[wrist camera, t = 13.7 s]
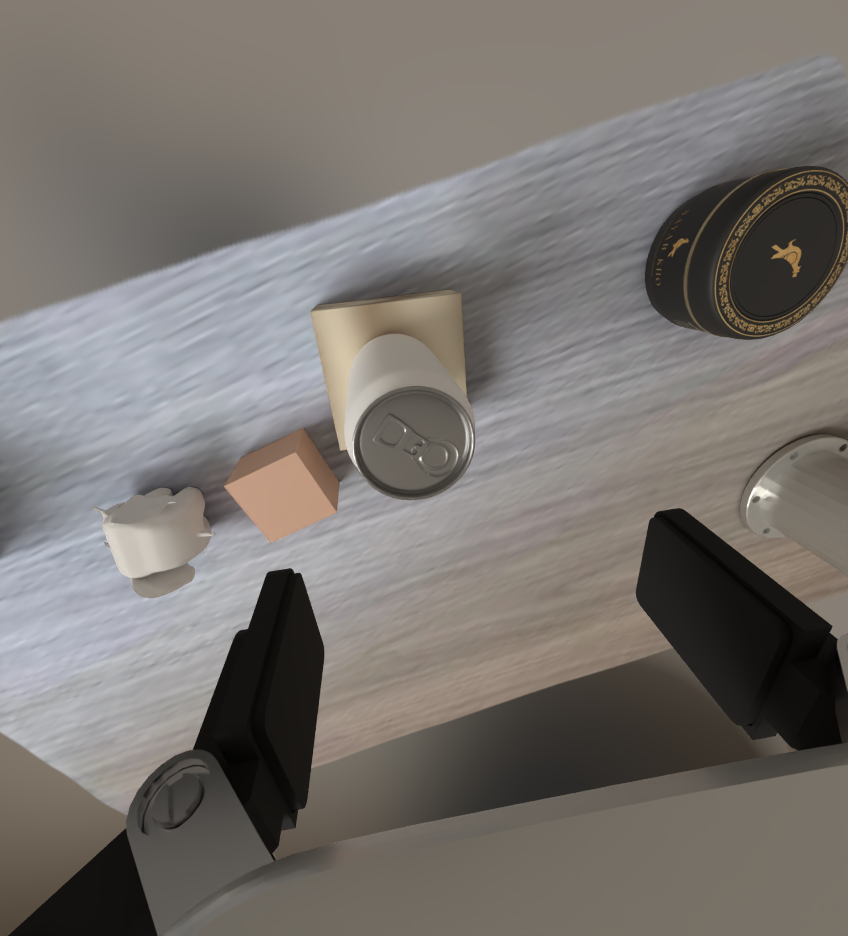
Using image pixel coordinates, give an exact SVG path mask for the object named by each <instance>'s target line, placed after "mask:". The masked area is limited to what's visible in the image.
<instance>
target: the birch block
mask: <svg viewBox="0 0 848 936" xmlns="http://www.w3.org/2000/svg"><path fill="white" fill-rule="evenodd" d="M310 314H311V318H312V323H313V327H314V332H315V337H316V341H317V346H318V350H319V355H320V360H321V364H322V369H323V373H324V378H325V383H326V387H327V392H328V396H329V401H330V406H331V410H332V415H333V419H334V424H335V428H336V433H337V438H338V442H339V447H340V451H342V450H347V447H346V443H345V436H344V421H345V409H346V399H347V389H348V380H349V373H350V369H351V365H352V362H353V360H354V358H355V356H356V355H357V353H358V352H359V351H360V349H361V348H362V347H363V346H364V345H365V344H367V343H368V342H369V341H371V340H373V339H375V338H377V337H379V336H382V335H387V334H403V335H407V336H410V337H413V338H415V339H417V340H419V341H420V342H422V343H423V344H424V345H426V346H427V347H428V348H429V349H430V350H431V352H432V353H433V354H434V355H435V356H436V358H437V359H438V360H439V361H440V363H441V364H442V365H443V366H444V368H445V369H446V370H447V371H448V373H449V374H450V375H451V376H452V378H453V379H454V380H455V382H456V383H457V384H458V386H459V387H460V388H461V390H462V391H463V393H464V394H465V396H466V397H467V394H466V374H465V354H464V335H463V315H462V295H461V293H458V292H455V291H452V290H442V291H434V292H426V293H417V294H409V295H401V296H392V297H384V298H376V299H367V300H359V301H351V302H342V303H334V304H325V305H317V306H315V307H314V308H313V309H312V310H311V311H310Z"/></svg>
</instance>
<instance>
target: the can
mask: <svg viewBox="0 0 848 936" xmlns="http://www.w3.org/2000/svg"><path fill="white" fill-rule="evenodd" d="M344 436H345V443H346V447H347V451H348V453H349V456H350V458H351V460H352V462H353V463H354V465H355V466H356V467H357V469H358V471H359V473H360V474H361V476H362V477H363V478H364V480H365V481H366V482H367V483H368V484H369V485H370V486H371V487H373V488H374V489H376V490H377V491H379V492H380V493H382V494H384V495H387V496H389V497H392V498H396V499H402V500H419V499H425V498H429V497H432V496H435V495H437V494H440V493H442V492H444V491H445V490H447V489H448V488H450V487H451V486H452V485H454V484H455V483H456V482H457V481H458V480H459V479H460V478H461V477H462V475H463V474H464V473H465V471H466V470H467V468H468V466H469V464H470V462H471V460H472V457H473V453H474V448H475V420H474V415H473V411H472V408H471V406H470V403H469V401H468V399H467V397H466V396H465V394H464V393H463V391H462V390H461V388H460V387H459V386H458V384H457V383H456V382H455V380H454V379H453V378H452V376H451V375H450V374H449V373H448V371H447V370H446V369H445V368H444V366H443V365H442V364H441V363H440V361H439V360H438V359H437V358H436V356H435V355H434V354H433V353H432V352H431V350H430V349H429V348H428V347H427V346H426V345H424V344H423V343H422V342H420V341H419V340H417V339H415V338H413V337H410V336H407V335H403V334H387V335H382V336H379V337H377V338H375V339H373V340H371V341H369V342H368V343H367V344H365V345H364V346H363V347H362V348H361V349H360V351H359V352H358V353H357V355H356V356H355V358H354V360H353V362H352V365H351V369H350V373H349V380H348V389H347V399H346V409H345V421H344Z"/></svg>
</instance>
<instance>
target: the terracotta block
mask: <svg viewBox="0 0 848 936" xmlns="http://www.w3.org/2000/svg"><path fill="white" fill-rule="evenodd" d="M224 487H225V488H226V490H227V491H228V492H229V493H230V494H231V496H232V497H233V498H234V499H235V500H236V502H237V503H238V504H239V505H240V506H241V508H242V509H243V510H244V511H245V513H246V514H247V515H248V516H249V517H250V519H251V520H252V521H253V522H254V523H255V525H256V526H257V527H258V528H259V529H260V531H261V532H262V533H263V534H264V535H265V537H266V538H267V539H268V540H269V541H270V543H272V542H274V541H276V540H278V539H281V538H283V537H285V536H287V535H289V534H291V533H294V532H296V531H298V530H300V529H302V528H304V527H307V526H309V525H311V524H313V523H315V522H317V521H319V520H322V519H324V518H326V517H328V516H330V515H332V514H335V513H337V504H338V492H339V482H338V480H337V478H336V477H335V475H334V474H333V472H332V471H331V469H330V468H329V466H328V465H327V463H326V462H325V460H324V458H323V457H322V455H321V454H320V452H319V451H318V449H317V448H316V446H315V445H314V443H313V442H312V440H311V439H310V437H309V435H308V434H307V432H306V431H305V429H304V428H302V429H300V430H297V431H295V432H293V433H291V434H289V435H287V436H285V437H283V438H281V439H279V440H277V441H275V442H273V443H270V444H268V445H266V446H264V447H262V448H260V449H258V450H256V451H254V452H252V453H250V454H248V455H246V456H244V457H241V458H240V460H239V462H238V463H237V465H236V467H235V468H234V470H233V472H232V473H231V475H230V477H229V478H228V480H227V482H226V484H225V485H224Z"/></svg>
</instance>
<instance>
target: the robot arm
mask: <svg viewBox="0 0 848 936" xmlns="http://www.w3.org/2000/svg"><path fill="white" fill-rule="evenodd" d="M740 515H741V518H742V521H743V523H744V524H745V525H746V527H747V528H749V529H750V530H751V531H753V532H754V533H755V534H757V535H759V536H761V537H766V538H783V537H788V538H790V539H791V540H793V541H795V542H796V543H798V544H799V545H801V546H802V547H804V548H805V549H807V550H808V551H810V552H812V553H813V554H815V555H816V556H818V557H819V558H821V559H822V560H824V561H825V562H827V563H829V564H830V565H832V566H833V567H835V568H836V569H838V570H839V571H841V572H842V573H844V574H846V575H847V576H848V441H847V440H845V439H843V438H840V437H837V436H833V435H828V434H819V435H813V436H808V437H805V438H802V439H799V440H797V441H795V442H793V443H791V444H789V445H787V446H785V447H784V448H782V449H781V450H779V451H778V452H776V453H775V454H774V455H772V456H771V457H770V458H769V459H768V460H766V461H765V462H764V463H763V465H762V466H761V467H760V468H759V469H758V470H757V471H756V472H755V474H754V475H753V476H752V478H751V479H750V481H749V483H748V484H747V486H746V488H745V490H744V493H743V496H742V499H741V504H740ZM636 597H637V600H638V602H639V604H640V606H641V607H642V608H643V610H644V611H645V612H646V613H647V615H648V616H649V617H650V618H651V620H652V621H653V622H654V624H655V625H656V626H657V627H658V629H659V630H660V631H661V632H662V634H663V635H664V636H665V637H666V639H667V640H668V641H669V643H670V644H671V645H672V646H673V648H674V649H675V650H676V651H677V653H678V654H679V655H680V657H681V658H682V659H683V660H684V662H685V663H686V664H687V665H688V667H689V668H690V669H691V670H692V672H693V673H694V674H695V676H696V677H697V678H698V679H699V680H700V682H701V683H702V684H703V686H704V687H705V688H706V689H707V691H708V692H709V693H710V695H711V696H712V697H713V698H714V699H715V701H716V702H717V703H718V705H719V706H720V707H721V708H722V710H723V711H724V712H725V714H726V715H727V716H728V717H729V718H730V720H731V721H732V722H734V723H735V724H736V725H739V726H742V727H743V729H744V730H745V731H746V732H747V734H748V735H749V736H750V737H751V739H752V740H756V739H761V738H767V737H772V736H776V734H777V732H778V733H779V734H780V736H781V737H782V738H783V739H784V740H785V742H786V743H787V752H788V753H782V754H777V755H771V756H766V757H761V758H756V759H750V760H745V761H740V762H734V763H730V764H724V765H719V766H714V767H708V768H703V769H697V770H692V771H687V772H681V773H676V774H671V775H666V776H660V777H656V778H650V779H645V780H640V781H635V782H629V783H624V784H620V785H614V786H609V787H604V788H599V789H594V790H589V791H583V792H578V793H573V794H568V795H563V796H558V797H552V798H547V799H542V800H538V801H532V802H528V803H522V804H517V805H512V806H507V807H502V808H497V809H492V810H487V811H482V812H477V813H472V814H467V815H463V816H457V817H453V818H447V819H442V820H437V821H432V822H427V823H422V824H417V825H413V826H408V827H403V828H399V829H394V830H390V831H386V832H381V833H376V834H372V835H367V836H363V837H358V838H354V839H349V840H345V841H340V842H336V843H332V844H328V845H325V846H321V847H317V848H314V849H310V850H307V851H303V852H300V853H296V854H292V855H290V856H287V857H285V858H282V859H279V860H277V859H276V858H275V856H274V854H273V852H274V851H275V849H276V848H277V847H278V845H279V840H280V834H281V831H282V830H288V829H293V828H296V821H297V813H298V809H303V808H305V806H306V803H307V797H308V789H309V780H310V772H311V764H312V756H313V747H314V739H315V731H316V722H317V714H318V706H319V697H320V689H321V681H322V672H323V664H324V645H323V641H322V638H321V635H320V632H319V629H318V626H317V622H316V619H315V616H314V613H313V610H312V606H311V603H310V600H309V597H308V594H307V590H306V587H305V584H304V581H303V578H302V575H301V573H295V574H294V571H293V570H292V569H291V568H289V569H283V570H276V571H270V572H268V573H267V575H266V577H265V580H264V583H263V586H262V589H261V592H260V595H259V598H258V601H257V604H256V607H255V610H254V613H253V616H252V619H251V622H250V625H249V627H248V629H246V630H240V631H239V632H238V633H237V634H236V635H235V637H234V639H233V642H232V645H231V648H230V650H229V653H228V656H227V658H226V661H225V664H224V667H223V669H222V672H221V675H220V677H219V680H218V683H217V686H216V688H215V691H214V694H213V697H212V699H211V702H210V705H209V707H208V710H207V713H206V716H205V718H204V721H203V724H202V726H201V729H200V732H199V735H198V737H197V740H196V743H195V745H194V748H193V750H189V751H186V752H183V753H181V754H178V755H175V756H174V757H172V758H171V759H169V760H168V761H166V762H165V763H163V764H161V765H160V766H159V767H158V768H157V769H156V770H155V771H154V772H153V773H152V774H151V775H150V776H149V777H148V778H147V779H146V781H145V782H144V783H143V785H142V786H141V787H140V788H139V790H138V791H137V793H136V795H135V797H134V799H133V801H132V803H131V805H130V808H129V812H128V815H127V819H126V829H125V830H124V831H122V832H121V833H120V834H119V835H118V836H117V837H116V838H115V839H114V840H113V841H111V842H110V843H109V844H108V845H107V846H106V847H105V848H104V849H103V850H102V851H100V852H99V853H98V854H97V855H96V856H95V857H94V858H93V859H92V860H91V861H90V862H89V863H87V864H86V865H85V866H84V867H83V868H82V869H81V870H80V871H79V872H77V873H76V874H75V875H74V876H73V877H72V878H71V879H70V880H69V881H68V882H67V883H65V884H64V885H63V886H62V887H61V888H60V889H59V890H58V891H57V892H56V893H55V894H53V895H52V896H51V897H50V898H49V899H48V900H47V901H46V902H45V903H44V904H42V905H41V906H40V907H39V908H38V909H37V910H36V911H35V912H34V913H33V914H32V915H30V917H28V918H27V919H26V920H25V921H24V922H23V923H22V924H21V925H20V926H18V927H17V928H16V929H15V930H14V931H13V932H12V933H11V934H10V935H8V936H848V634H845V635H842V636H841V637H840V638H839V639H837V638H836V637H834V636H833V635H832V634H831V633H830V631H831V629H832V625H830V624H829V623H828V622H826V621H825V620H824V619H823V618H821V617H820V616H819V615H818V614H816V613H815V612H814V611H813V610H811V609H810V608H809V607H807V606H806V605H805V604H804V603H802V602H801V601H800V600H798V599H797V598H796V597H795V596H793V595H792V594H791V593H790V592H788V591H787V590H786V589H784V588H783V587H782V586H781V585H779V584H778V583H777V582H776V581H774V580H773V579H772V578H770V577H769V576H768V575H767V574H765V573H764V572H763V571H761V570H760V569H759V568H758V567H756V566H755V565H754V564H753V563H751V562H750V561H749V560H747V559H746V558H745V557H744V556H742V555H741V554H740V553H739V552H737V551H736V550H735V549H733V548H732V547H731V546H730V545H728V544H727V543H726V542H725V541H723V540H722V539H721V538H719V537H718V536H717V535H716V534H714V533H713V532H712V531H710V530H709V529H708V528H707V527H705V526H704V525H703V524H702V523H700V522H699V521H698V520H696V519H695V518H694V517H693V516H691V515H690V514H689V513H688V512H686V511H685V510H683V509H680V508H677V509H671V510H664V511H659V512H657V513H656V514H655V515H654V518H651V519H650V521H649V525H648V530H647V536H646V541H645V546H644V551H643V556H642V562H641V567H640V572H639V577H638V583H637V588H636Z"/></svg>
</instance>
